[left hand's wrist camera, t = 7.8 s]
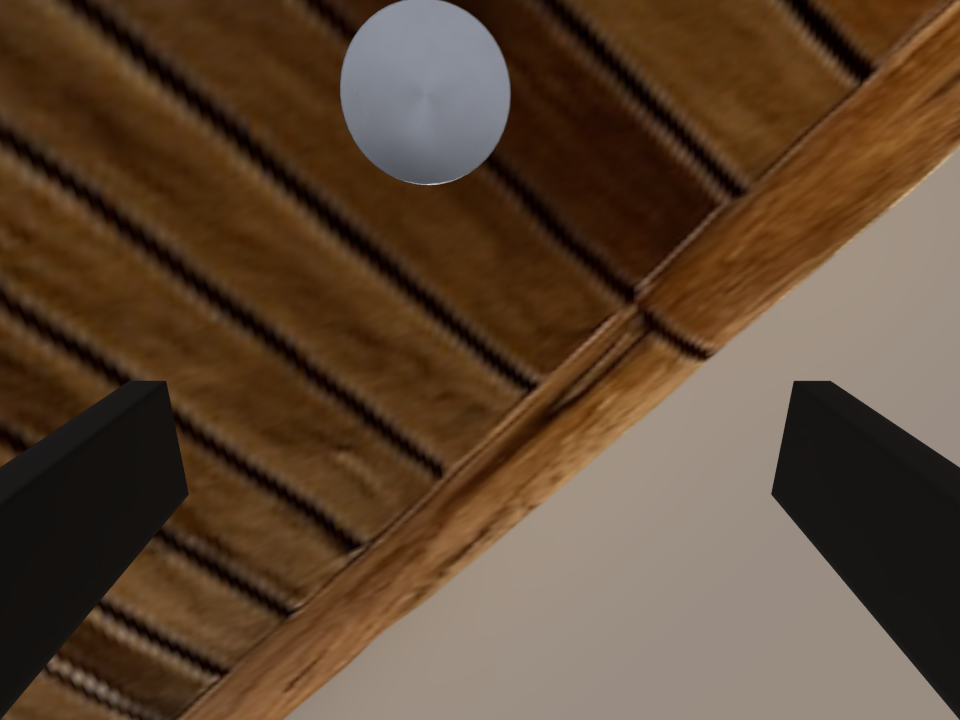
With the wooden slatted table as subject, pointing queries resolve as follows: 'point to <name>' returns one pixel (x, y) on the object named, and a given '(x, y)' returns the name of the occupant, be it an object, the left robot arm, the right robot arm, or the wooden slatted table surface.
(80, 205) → the wooden slatted table surface
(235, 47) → the wooden slatted table surface
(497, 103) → the lid
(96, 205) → the wooden slatted table surface
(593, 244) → the wooden slatted table surface
